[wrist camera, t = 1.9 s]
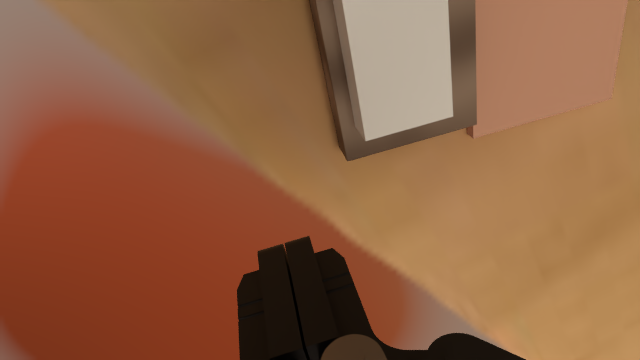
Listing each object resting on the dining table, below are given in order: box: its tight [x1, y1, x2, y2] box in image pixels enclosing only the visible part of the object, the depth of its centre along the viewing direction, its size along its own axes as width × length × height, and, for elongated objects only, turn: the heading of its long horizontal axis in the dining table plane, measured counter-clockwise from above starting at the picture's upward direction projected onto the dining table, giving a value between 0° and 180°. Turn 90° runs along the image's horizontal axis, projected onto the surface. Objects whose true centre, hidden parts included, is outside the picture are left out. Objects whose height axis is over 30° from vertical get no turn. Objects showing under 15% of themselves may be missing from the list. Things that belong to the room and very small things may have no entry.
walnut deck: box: [309, 0, 477, 161], centre depth 28 cm, size 14×10×2 cm
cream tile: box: [333, 0, 453, 141], centre depth 26 cm, size 9×6×2 cm, turn 12°
